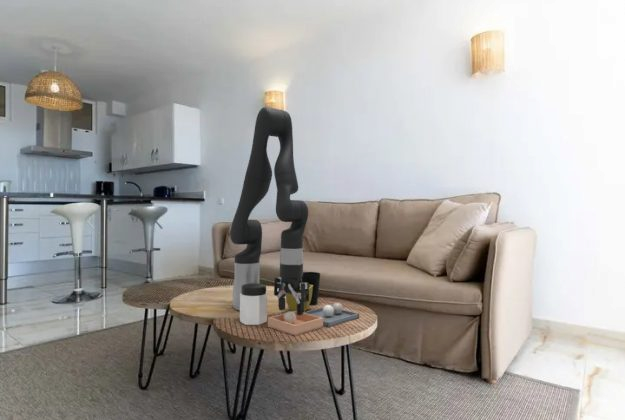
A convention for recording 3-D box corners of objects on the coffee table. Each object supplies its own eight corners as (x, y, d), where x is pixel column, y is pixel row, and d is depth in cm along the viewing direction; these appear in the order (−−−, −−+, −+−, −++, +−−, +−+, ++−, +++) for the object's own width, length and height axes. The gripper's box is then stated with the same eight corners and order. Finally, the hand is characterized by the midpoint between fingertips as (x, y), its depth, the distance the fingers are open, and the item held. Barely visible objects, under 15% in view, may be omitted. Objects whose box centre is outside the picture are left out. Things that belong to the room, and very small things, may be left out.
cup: (319, 306, 154) (320, 275, 154) (300, 305, 154) (300, 274, 154) (319, 301, 161) (320, 272, 161) (301, 301, 162) (301, 271, 162)
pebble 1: (319, 316, 137) (320, 304, 137) (327, 314, 140) (327, 303, 140) (328, 318, 134) (328, 307, 134) (336, 316, 137) (336, 305, 137)
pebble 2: (329, 313, 140) (329, 302, 140) (336, 312, 143) (336, 300, 143) (337, 316, 138) (338, 304, 138) (345, 314, 140) (345, 302, 140)
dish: (267, 326, 126) (268, 317, 126) (296, 319, 135) (296, 310, 135) (294, 336, 117) (294, 325, 117) (323, 327, 126) (323, 318, 126)
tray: (296, 318, 136) (296, 313, 136) (328, 310, 148) (328, 306, 148) (327, 327, 126) (328, 322, 126) (359, 317, 138) (359, 313, 138)
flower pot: (308, 314, 141) (308, 289, 141) (284, 313, 143) (284, 288, 143) (313, 308, 150) (313, 284, 150) (290, 307, 152) (290, 283, 151)
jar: (270, 323, 130) (271, 286, 130) (247, 327, 125) (247, 289, 125) (259, 316, 137) (259, 282, 137) (236, 320, 133) (237, 284, 133)
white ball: (281, 323, 128) (281, 311, 128) (290, 321, 130) (290, 309, 130) (289, 326, 125) (289, 313, 125) (298, 323, 128) (298, 311, 128)
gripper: (268, 260, 130) (267, 310, 130) (298, 265, 120) (297, 319, 120) (285, 258, 135) (284, 306, 135) (315, 263, 125) (314, 314, 125)
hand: (290, 312), depth 128 cm, fingers open, 8 cm apart
